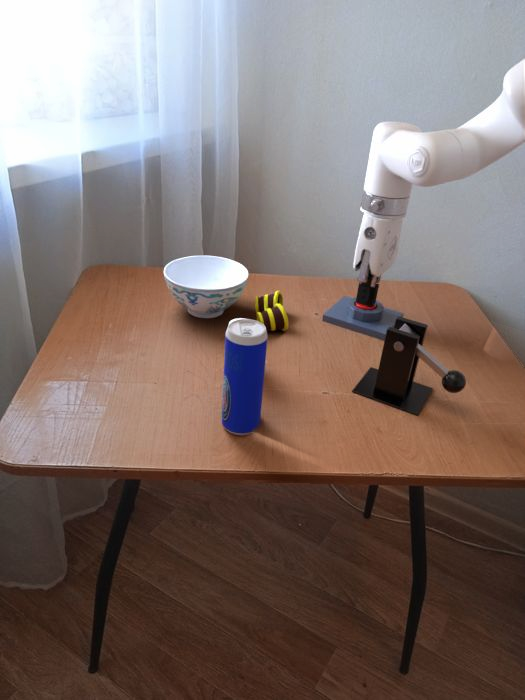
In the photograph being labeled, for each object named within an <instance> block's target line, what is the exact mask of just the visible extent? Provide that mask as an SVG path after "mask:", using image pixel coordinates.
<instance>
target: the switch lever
mask: <svg viewBox="0 0 525 700" xmlns="http://www.w3.org/2000/svg"><path fill="white" fill-rule="evenodd" d="M399 330H402V331H405V332H408V333H411V334H415V335H418V334H417V333H415V332H414V331H413V330H412V329H411V328H410V327H409V326H408V325H406V324H404V325H403V326H402V327H401V328H400V329H399ZM418 336H419V335H418ZM416 355H417V356H418V357H419V360H421V361H423V362H424V364H426V365H427V366H429V368H430V369H431V370H432V371H434V372H435V373H436V374H437V375H438V376H439V377H440V378H441V385H442V387H443V389H444V390H445V391H446V392H448V393H450V394H458V393H460V392H462V391H463V390H464V389H465V387H466V384H467V379H466V376H465V374H463V373H462V372H461V371H459V370H456V369H451V370H449V369H448V368H447V367H446V366H445V365H443V364H442V363H441V362H440V361H439V360H438V359H436V358H435V356H433V355H432V354H431V353H430V352H429V351H427V350H426V348H424V347H423V346H421V345H420V344H418V346H417V350H416Z"/></svg>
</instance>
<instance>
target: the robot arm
mask: <svg viewBox="0 0 525 700" xmlns="http://www.w3.org/2000/svg"><path fill="white" fill-rule="evenodd" d="M524 143H525V58H523V59H522V60H520V61H519V62H517V63H516V64H515V65H513V66H512V67H511V68H509V70H508V71H507V72H506V74H504V77H503V81H502V91H501V93H500V94H499V96H498V97H497V98H496V99H495V100H494V101H493V102H492V103H491V104H490V105H488V107H486V108H485V109H483V110H482V111H481V112H479V113H478V114H477V115H475V116H474V117H473V118H470V119H469V120H468V121H467V122H465V123H463V124H462V125H460V126H458V127H457V128H450V129H442V130H437V131H436V130H435V131H427V132H426V131H422V129H421V128H420V127H419V126H418V125H416V124H412V123H409V122H402V121H394V120H393V121H390V120H389V121H388V120H387V121H382V122H379V123H378V124H377V125H376V126H375V127H374V129H373V133H372V138H371V143H370V149H369V155H368V161H367V167H366V171H365V178H364V184H363V191H362V195H361V196H362V197H361V201H360V202H361V203H360V208H359V210H360V211H361V213H363V216H362V220H361V222H360V223H361V224H360V228H359V231H358V235H357V241H356V245H355V250H354V256H353V264H352V268H353V270H354V271H356V272H358V271H359V272H358V275H357V282H358V286H357V292H356V296H355V298H356V303H359V304H362V305H365V306H369V307H372V306H373V305H374V304H375V303H376V300H377V298H378V293H379V288H380V282H381V278H382V276H383V274H385V273H386V272H387V271H388V270H389V269H390V268H391V267H392V266H393V265H394V264H395V262H396V261H397V258H398V250H399V245H400V239H401V232H402V227H403V218H405V217H406V216H407V211H408V207H409V203H410V198H411V194H412V188H413V185H415V186H418V187H424V188H430V187H435V186H438V185H439V186H440V185H443V184H446V183H451V182H454V181H455V182H456V181H459V180H464V179H466V178H469V177H471V176H473V175H475V174H476V173H478V172H480V171H482V170H483V169H485V168H487V167H488V166H490V165H492V164H494V163H496V162H497V161H499V160H501V159H502V158H503V157H505V156H507V155H509V154H510V153H512V152H513V151H514V150H516V149H517V148H519V147H520V146H521V145H522V144H524Z"/></svg>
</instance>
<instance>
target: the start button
mask: <svg viewBox="0 0 525 700" xmlns="http://www.w3.org/2000/svg"><path fill="white" fill-rule="evenodd" d="M355 306H356V307H357V308H360V309H363V310H375V307H376V304H374V305H373V306H372V307H369V306H365V305H362V304H359V303H356V305H355Z"/></svg>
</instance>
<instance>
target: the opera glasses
mask: <svg viewBox="0 0 525 700" xmlns="http://www.w3.org/2000/svg"><path fill="white" fill-rule="evenodd" d="M283 298H284V297H283V294H282V292H281V291H280V290H276V291H275V292H274V293H272V294H269V293H267V294H265V295H261V296H255V298H254V301H255V302H254V303H255V304H254V306H255V307H254V309H255V314H256V321H258V322H260V323H262V324H263V325H264V326H265V327H266V331H267V332H268V331H271V332H275V331H276V330H281V331H282V332H286V331H287V330H288V329H289V326H290V325H289V324H290V322H289V318H288V314H287V312H286V309H285V308H284V299H283Z"/></svg>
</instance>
